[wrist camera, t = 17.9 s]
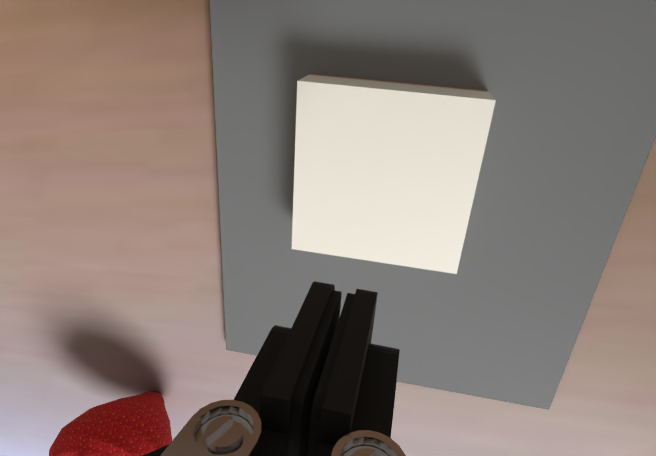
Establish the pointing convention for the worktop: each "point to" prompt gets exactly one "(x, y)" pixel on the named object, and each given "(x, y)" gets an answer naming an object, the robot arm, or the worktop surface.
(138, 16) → the worktop surface
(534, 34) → the mat
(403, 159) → the tile
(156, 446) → the strawberry
